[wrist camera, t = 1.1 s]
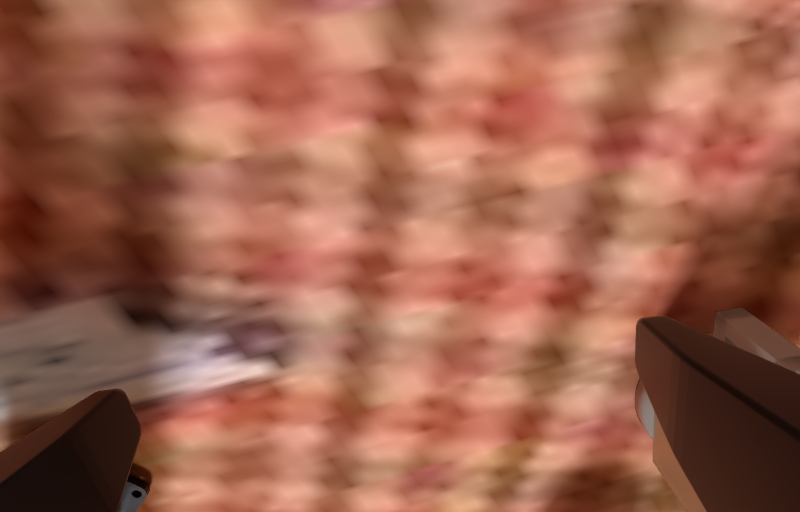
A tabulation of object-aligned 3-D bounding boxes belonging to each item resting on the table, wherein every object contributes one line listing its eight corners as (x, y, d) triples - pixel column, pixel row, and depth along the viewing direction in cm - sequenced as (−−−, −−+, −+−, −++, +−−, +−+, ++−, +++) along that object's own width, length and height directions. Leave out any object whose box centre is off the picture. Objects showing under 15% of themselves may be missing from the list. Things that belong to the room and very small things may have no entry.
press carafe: (633, 451, 28) (709, 568, 22) (635, 305, 25) (725, 394, 19) (759, 431, 28) (870, 542, 22) (778, 281, 25) (916, 362, 19)
